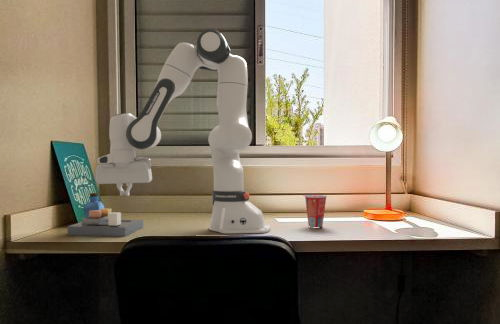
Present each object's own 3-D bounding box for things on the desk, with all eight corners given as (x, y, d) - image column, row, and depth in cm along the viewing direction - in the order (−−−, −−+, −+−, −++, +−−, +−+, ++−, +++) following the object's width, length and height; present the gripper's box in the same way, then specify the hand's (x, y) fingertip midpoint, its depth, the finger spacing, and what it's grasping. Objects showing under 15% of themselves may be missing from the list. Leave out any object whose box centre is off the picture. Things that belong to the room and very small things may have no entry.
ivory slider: (120, 224, 126) (120, 212, 126) (117, 225, 123) (117, 213, 123) (112, 223, 126) (112, 212, 126) (108, 225, 123) (108, 213, 123)
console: (143, 227, 137) (143, 214, 137) (125, 236, 121) (125, 221, 121) (92, 226, 139) (92, 213, 139) (67, 235, 123) (67, 220, 123)
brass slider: (111, 219, 136) (111, 208, 136) (107, 220, 133) (107, 209, 133) (103, 219, 136) (103, 208, 136) (99, 220, 133) (99, 209, 133)
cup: (325, 225, 143) (325, 194, 143) (328, 229, 135) (328, 196, 135) (301, 224, 144) (301, 194, 144) (302, 229, 136) (302, 196, 136)
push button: (103, 217, 131) (103, 210, 131) (97, 219, 127) (97, 211, 127) (92, 217, 131) (92, 210, 131) (86, 218, 127) (86, 211, 127)
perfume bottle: (82, 224, 143) (82, 194, 143) (89, 222, 149) (89, 192, 149) (98, 224, 143) (98, 194, 143) (104, 222, 149) (104, 192, 149)
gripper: (153, 156, 136) (155, 193, 136) (101, 158, 138) (102, 195, 138) (147, 157, 130) (149, 195, 130) (92, 159, 132) (94, 197, 132)
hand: (124, 195), depth 134 cm, fingers closed
